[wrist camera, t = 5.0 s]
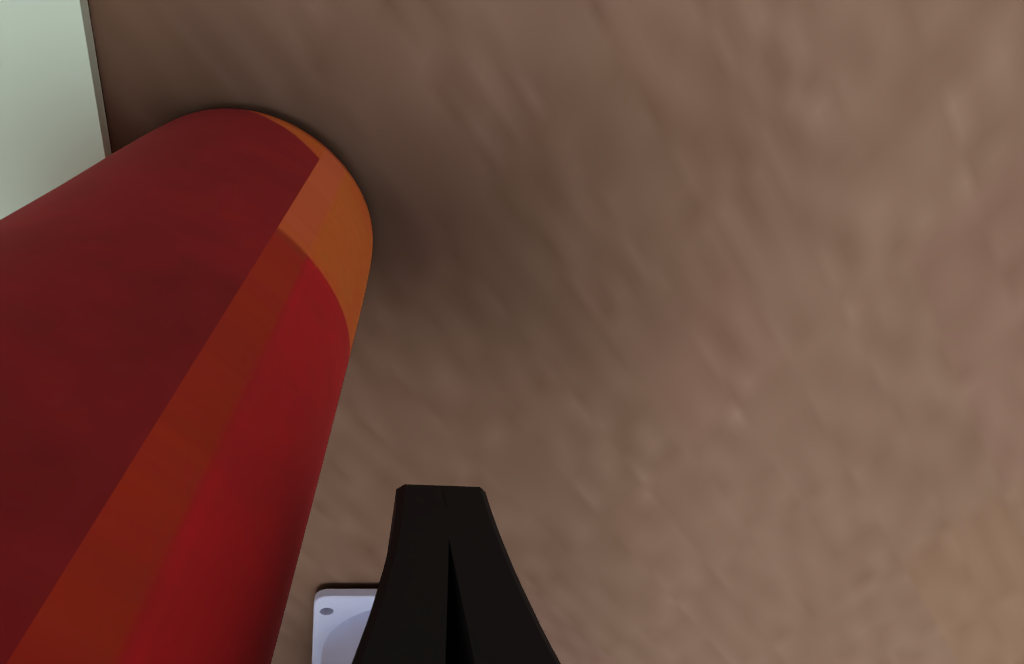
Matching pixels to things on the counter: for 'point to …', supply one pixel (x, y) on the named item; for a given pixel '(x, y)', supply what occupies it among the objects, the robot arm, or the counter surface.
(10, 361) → the coffee cup
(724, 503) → the counter surface
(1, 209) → the tray
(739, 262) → the counter surface
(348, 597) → the robot arm
